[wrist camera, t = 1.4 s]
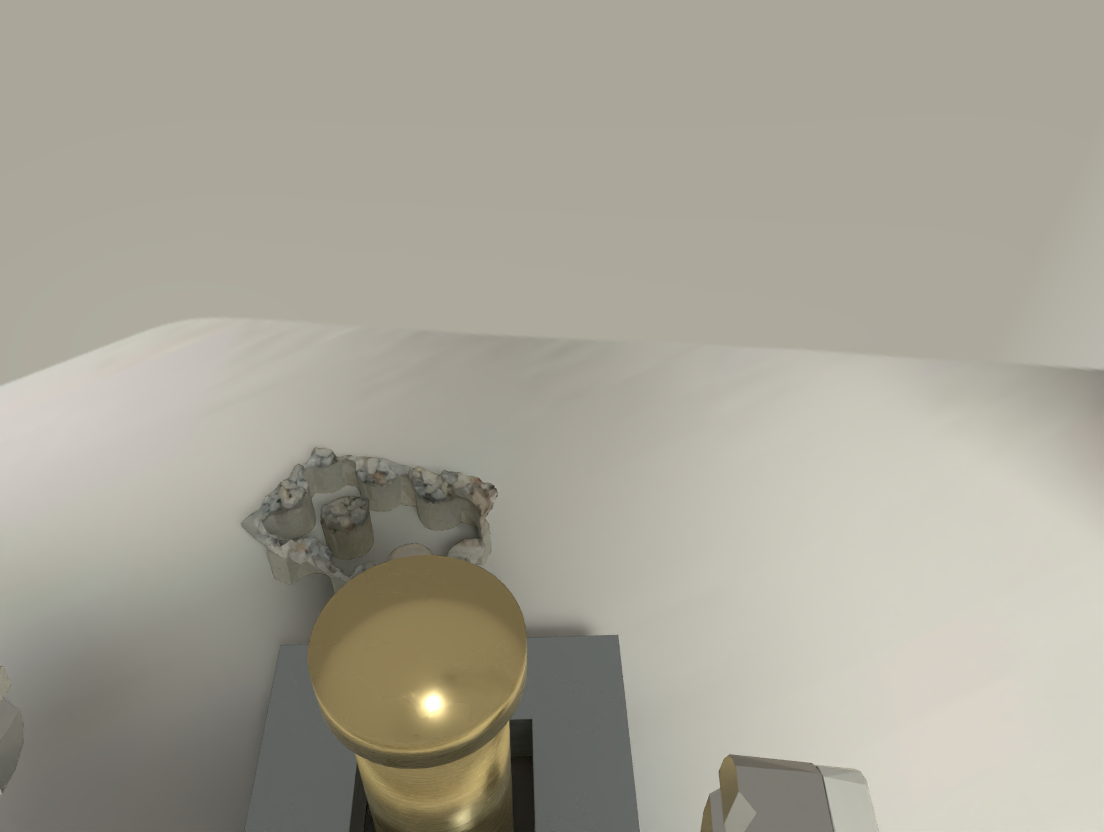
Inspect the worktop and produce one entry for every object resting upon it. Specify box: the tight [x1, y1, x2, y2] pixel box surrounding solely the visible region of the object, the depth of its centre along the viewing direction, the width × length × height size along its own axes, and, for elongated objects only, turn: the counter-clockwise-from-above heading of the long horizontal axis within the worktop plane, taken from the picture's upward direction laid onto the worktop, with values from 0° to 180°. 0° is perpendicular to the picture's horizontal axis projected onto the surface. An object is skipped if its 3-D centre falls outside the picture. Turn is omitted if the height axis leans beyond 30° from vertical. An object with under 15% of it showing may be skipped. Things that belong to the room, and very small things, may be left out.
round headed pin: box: [308, 555, 527, 832], centre depth 32 cm, size 6×6×14 cm
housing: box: [244, 635, 640, 832], centre depth 35 cm, size 14×14×3 cm
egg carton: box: [241, 448, 498, 594], centre depth 45 cm, size 11×8×4 cm
